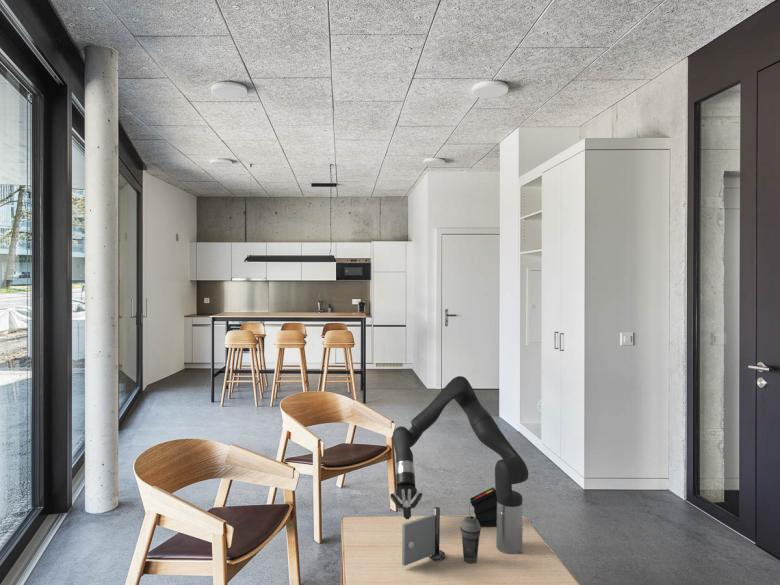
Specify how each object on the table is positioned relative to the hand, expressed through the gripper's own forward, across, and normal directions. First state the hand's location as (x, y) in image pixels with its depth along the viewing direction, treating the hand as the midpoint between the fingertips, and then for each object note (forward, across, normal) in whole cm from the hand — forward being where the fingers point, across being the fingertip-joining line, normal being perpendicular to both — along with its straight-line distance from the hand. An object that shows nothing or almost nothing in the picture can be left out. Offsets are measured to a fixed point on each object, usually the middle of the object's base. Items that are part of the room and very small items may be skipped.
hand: (407, 518), depth 212 cm
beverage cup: (+17, -22, +3) cm, 27 cm away
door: (+17, -4, +6) cm, 18 cm away
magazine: (-3, -33, -18) cm, 37 cm away
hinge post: (+14, -10, +1) cm, 17 cm away
